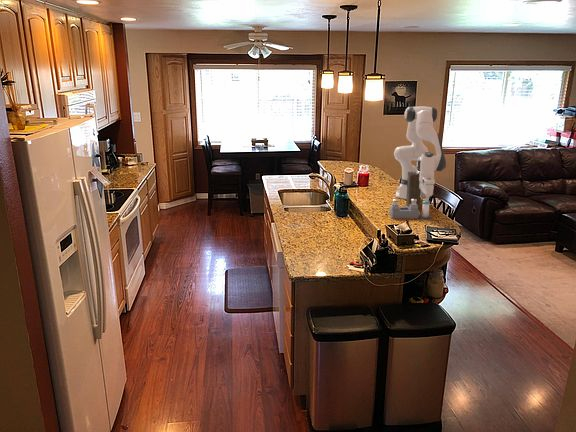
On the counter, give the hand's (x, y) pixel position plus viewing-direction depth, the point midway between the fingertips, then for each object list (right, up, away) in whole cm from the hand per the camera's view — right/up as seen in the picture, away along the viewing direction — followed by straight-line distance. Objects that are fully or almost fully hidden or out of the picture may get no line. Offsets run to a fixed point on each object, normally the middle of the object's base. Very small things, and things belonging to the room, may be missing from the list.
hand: (424, 199), depth 296 cm
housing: (-12, -11, +5) cm, 17 cm away
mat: (+1, -12, +2) cm, 12 cm away
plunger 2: (-6, -6, +3) cm, 9 cm away
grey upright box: (-1, -4, +27) cm, 27 cm away
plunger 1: (-18, -6, +4) cm, 20 cm away
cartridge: (+1, -11, +1) cm, 11 cm away
